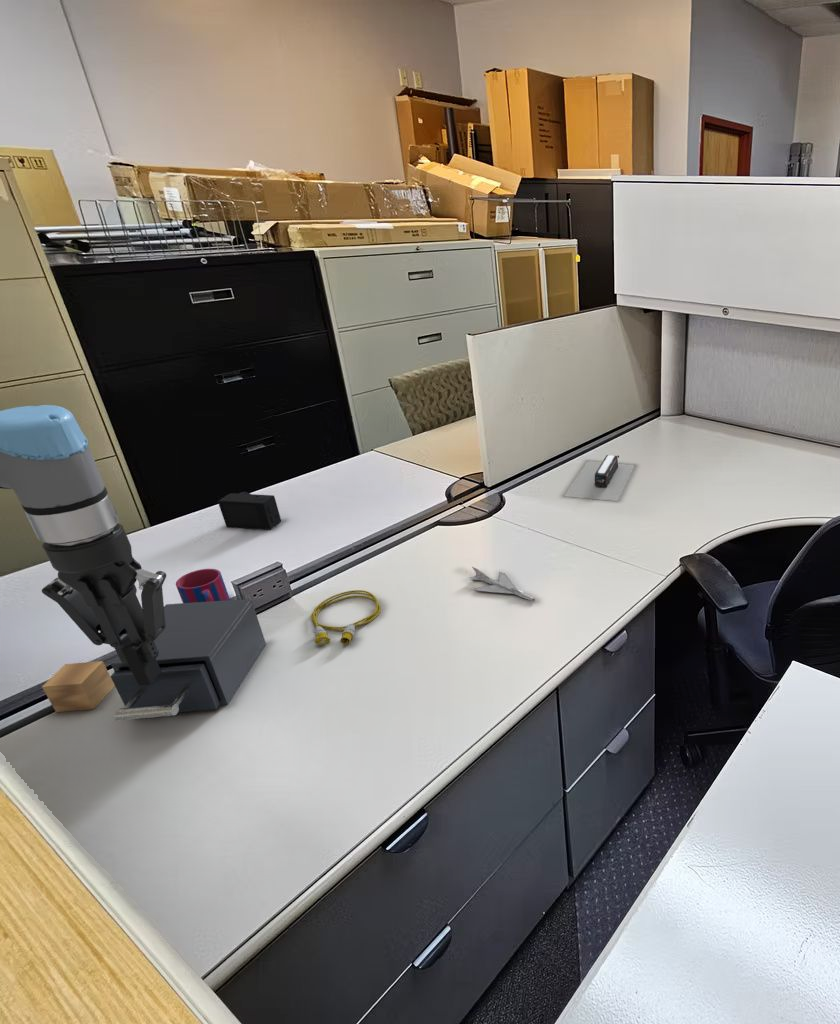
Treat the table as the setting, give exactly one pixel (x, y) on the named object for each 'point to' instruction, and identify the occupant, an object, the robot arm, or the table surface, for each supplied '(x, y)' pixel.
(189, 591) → the mug
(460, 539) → the table surface
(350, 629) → the extension cord
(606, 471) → the bus
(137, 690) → the drawer
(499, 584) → the toy airplane
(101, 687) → the block
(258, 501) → the digital camera
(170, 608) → the cabinet
